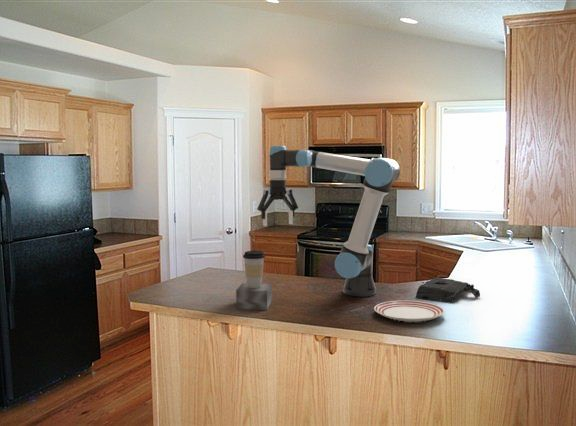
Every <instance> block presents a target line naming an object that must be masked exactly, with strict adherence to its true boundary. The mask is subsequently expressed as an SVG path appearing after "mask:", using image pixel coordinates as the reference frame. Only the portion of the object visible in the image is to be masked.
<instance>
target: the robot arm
mask: <svg viewBox="0 0 576 426" xmlns="http://www.w3.org/2000/svg"><path fill="white" fill-rule="evenodd" d="M287 167H296V168H297V167H299V168H306V167H309V168H310V167H311V168H317V169H324V170H328V171H335V172H341V173H345V174H346V173H347V174H353V175H359V176H363V177H364V180H363V184H362V187H363V188H364V191H363V195H362V198H361V201H360V204H359V206H358V210H357V213H356V215H355V218H354V222H353V224H352V228H351V231H350V234H349V237H348V240H347V241H345V242H344V243H343V244H342V248H341V249H340V253H339V254H338V255H336V258H335V261H334V268H335V271H336V272H337V274H338V275H339V276H341V277H342V278H345V281H344V284H343V289H342V293H343V294H345V295H347V296H350V297H351V296H352V297H358V298H359V297H363V298H364V297H371V296H374V295H376V294H377V288H376V284H375V281H374V278H373V264H374V263H373V259H374V258H373V254H374V251H373V250H374V249H373V246H372V245H371V244H369V242H370V239H371V236H372V233H373V230H374V227H375V224H376V221H377V218H378V215H379V212H380V209H381V206H382V204H383V200H384V197H385V196H387V195H389V194H390V191H391V189H392V187H393V186H392V185H393V184H394V183H395V182H396V181H398V179H399V177H400V175H401V174H400V173H401V168H400V165H399V163H398V162H397V161H396V160H394V159H392V158H390V157H377V158H376V157H372V158H371V159H370V158H369V159H368V158H362V157H355V156H349V155H344V154H343V155H341V154H336V153H335V154H334V153H329V152H323V151H315V150H311V149H290V150H289V149H287V147H286V146H285V145H272V146H270V147H269V179H270V180H269V190H266V189H264V190H263V195H262V197H261V199H260V202H259V204H258V207H257V209H256V210H257V211H260V213H261V216H260V217H261V220H262V227H268V212H267V210H268V209H269V207H270V206H271V204H272V203H273V202H274V201H276V200H281V201H283V202H284V204H285V205H287V207H288V208H289V210H288V225H294V217H295V211H296V210H298V208H299V206H298V203H297V201H296V199H295V197H294V194H293V190H292V189H290V188H289V189H287V180H286V179H287ZM286 194H287V196H288V197H287V196H286ZM269 195H270V196H269ZM288 198H289V199H288Z"/></svg>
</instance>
